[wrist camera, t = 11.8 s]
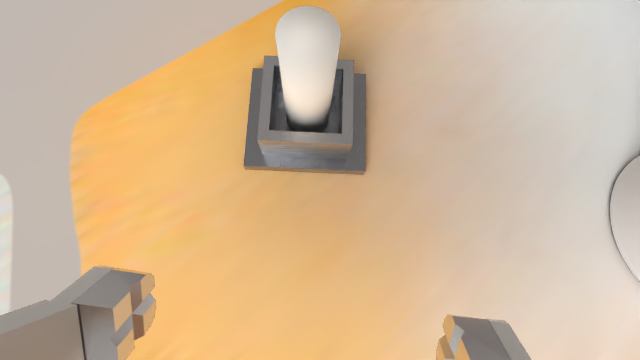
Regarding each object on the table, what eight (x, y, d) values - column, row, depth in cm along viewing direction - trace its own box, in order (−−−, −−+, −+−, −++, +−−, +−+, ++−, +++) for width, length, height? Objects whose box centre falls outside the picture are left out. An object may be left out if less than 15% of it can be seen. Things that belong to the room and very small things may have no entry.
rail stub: (329, 99, 30) (341, 7, 20) (328, 138, 29) (340, 64, 19) (287, 97, 30) (277, 4, 19) (285, 136, 29) (273, 60, 19)
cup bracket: (363, 80, 32) (372, 50, 28) (363, 174, 30) (373, 158, 25) (254, 74, 32) (246, 43, 27) (245, 169, 29) (235, 152, 25)
